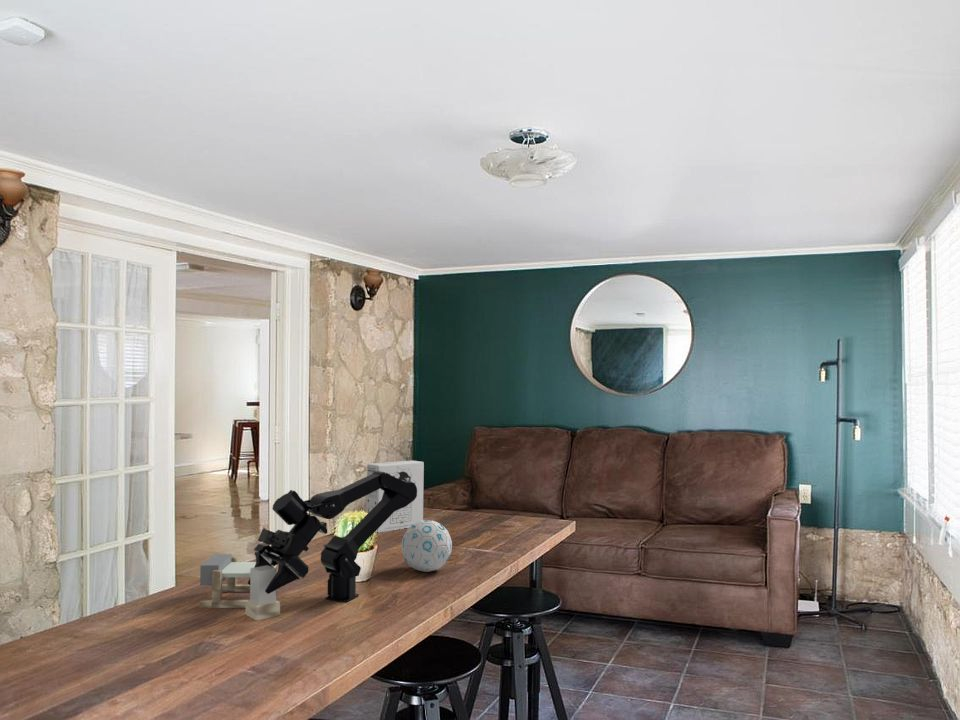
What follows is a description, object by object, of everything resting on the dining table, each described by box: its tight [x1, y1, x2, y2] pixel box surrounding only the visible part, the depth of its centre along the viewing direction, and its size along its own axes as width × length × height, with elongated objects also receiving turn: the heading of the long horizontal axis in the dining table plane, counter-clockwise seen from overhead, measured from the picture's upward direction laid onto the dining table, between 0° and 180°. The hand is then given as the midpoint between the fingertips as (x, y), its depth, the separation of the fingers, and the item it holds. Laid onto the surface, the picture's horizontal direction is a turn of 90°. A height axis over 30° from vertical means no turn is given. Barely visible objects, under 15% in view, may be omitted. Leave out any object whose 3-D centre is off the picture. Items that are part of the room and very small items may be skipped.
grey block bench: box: [198, 556, 279, 609], centre depth 200 cm, size 16×16×9 cm
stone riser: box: [244, 600, 281, 621], centre depth 186 cm, size 6×6×3 cm
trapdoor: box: [199, 553, 278, 586], centre depth 200 cm, size 16×12×5 cm
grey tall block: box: [249, 565, 277, 606], centre depth 186 cm, size 4×4×8 cm
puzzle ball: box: [401, 519, 453, 573], centre depth 231 cm, size 15×15×15 cm
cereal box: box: [365, 459, 425, 534], centre depth 296 cm, size 22×8×25 cm, turn 133°
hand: (257, 588), depth 185 cm, fingers open, 9 cm apart
